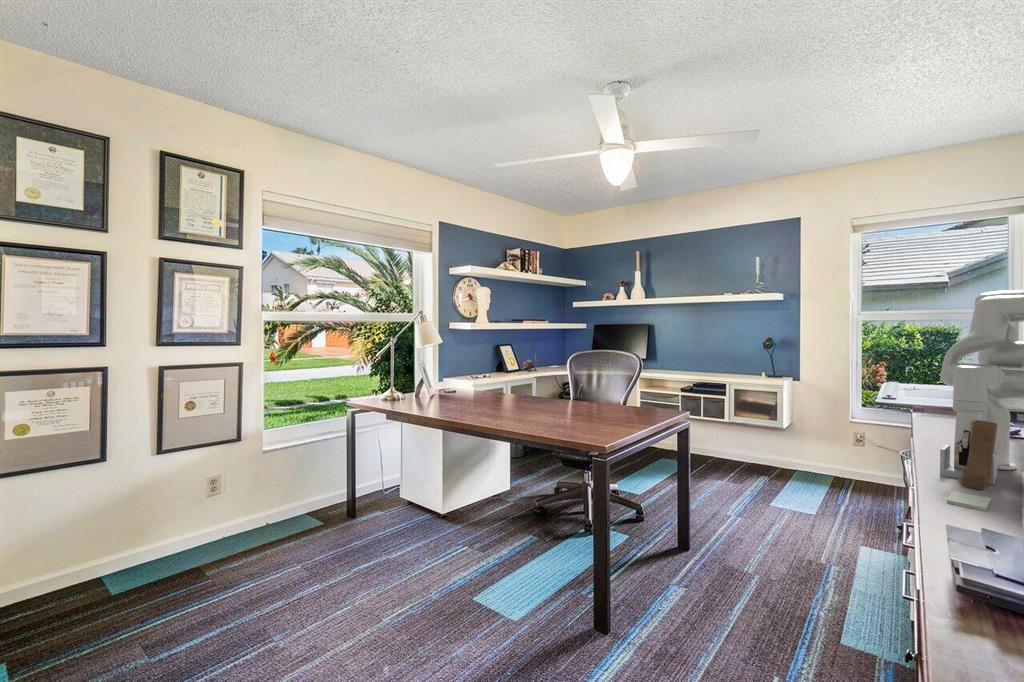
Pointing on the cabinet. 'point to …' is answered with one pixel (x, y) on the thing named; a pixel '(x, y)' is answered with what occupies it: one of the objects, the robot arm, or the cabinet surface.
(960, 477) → the slot guard
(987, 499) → the mat
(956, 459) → the beech block
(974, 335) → the robot arm
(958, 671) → the cabinet surface
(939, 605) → the cabinet surface
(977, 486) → the wooden block
